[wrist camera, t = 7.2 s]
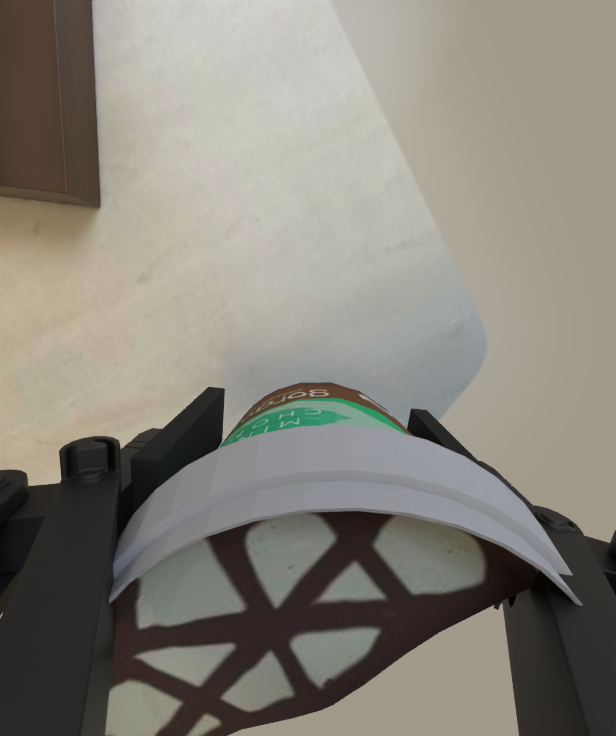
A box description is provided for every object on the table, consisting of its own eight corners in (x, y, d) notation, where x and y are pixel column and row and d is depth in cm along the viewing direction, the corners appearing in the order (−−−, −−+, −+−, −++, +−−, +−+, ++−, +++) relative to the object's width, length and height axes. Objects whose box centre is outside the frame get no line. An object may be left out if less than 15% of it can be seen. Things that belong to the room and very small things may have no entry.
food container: (358, 304, 14) (467, 325, 4) (424, 410, 15) (626, 611, 6) (152, 442, 16) (-101, 680, 6) (226, 528, 17) (113, 844, 7)
